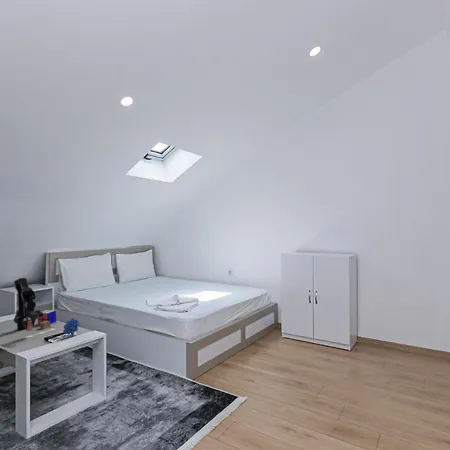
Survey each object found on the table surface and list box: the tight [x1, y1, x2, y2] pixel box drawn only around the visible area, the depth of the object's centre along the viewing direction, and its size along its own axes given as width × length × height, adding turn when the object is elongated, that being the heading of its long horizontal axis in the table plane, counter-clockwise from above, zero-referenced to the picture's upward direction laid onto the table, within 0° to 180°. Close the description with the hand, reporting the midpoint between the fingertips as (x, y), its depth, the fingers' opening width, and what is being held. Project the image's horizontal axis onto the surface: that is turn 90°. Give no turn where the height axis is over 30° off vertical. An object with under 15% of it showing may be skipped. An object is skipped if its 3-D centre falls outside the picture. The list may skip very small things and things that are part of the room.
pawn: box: [25, 319, 34, 332], centre depth 253 cm, size 4×4×8 cm
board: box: [26, 327, 56, 338], centre depth 261 cm, size 6×22×1 cm, turn 150°
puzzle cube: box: [37, 309, 57, 326], centre depth 289 cm, size 10×10×10 cm
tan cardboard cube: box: [39, 321, 51, 330], centre depth 274 cm, size 5×5×5 cm
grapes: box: [62, 317, 81, 335], centre depth 257 cm, size 12×7×12 cm, turn 132°
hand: (29, 328), depth 253 cm, fingers closed on pawn, 4 cm apart
